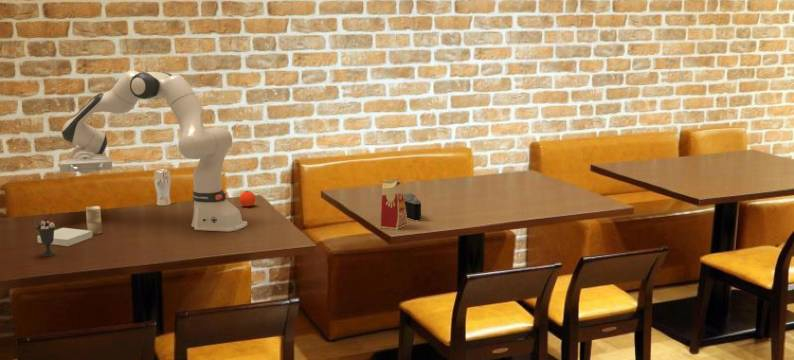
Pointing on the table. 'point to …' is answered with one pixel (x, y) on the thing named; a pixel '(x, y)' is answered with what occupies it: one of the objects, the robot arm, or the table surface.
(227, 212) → the robot arm
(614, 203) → the table surface
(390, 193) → the milk carton
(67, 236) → the trivet
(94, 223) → the beech block
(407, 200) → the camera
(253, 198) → the clementine
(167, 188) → the beer glass
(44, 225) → the sundae
